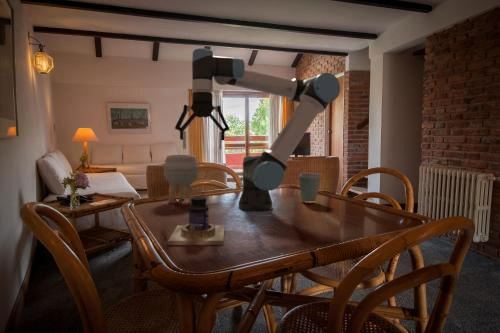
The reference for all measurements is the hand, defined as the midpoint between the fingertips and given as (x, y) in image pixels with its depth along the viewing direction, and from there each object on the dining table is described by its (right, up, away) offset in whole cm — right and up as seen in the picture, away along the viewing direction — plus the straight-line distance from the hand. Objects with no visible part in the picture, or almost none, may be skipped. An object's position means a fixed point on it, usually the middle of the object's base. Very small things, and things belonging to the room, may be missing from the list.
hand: (202, 149), depth 119 cm
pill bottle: (+2, -28, -20) cm, 34 cm away
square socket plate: (+2, -29, -20) cm, 35 cm away
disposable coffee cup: (+47, -25, +33) cm, 63 cm away
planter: (-15, -24, +32) cm, 42 cm away
